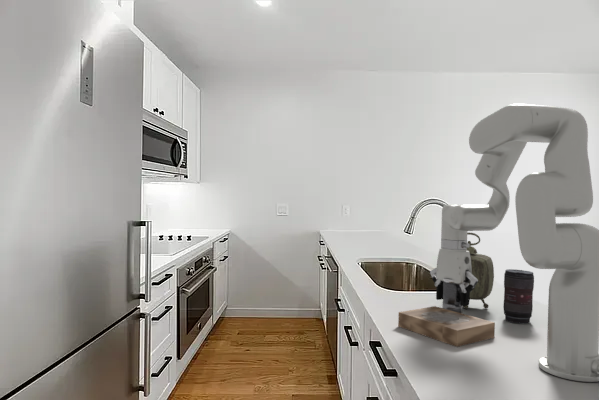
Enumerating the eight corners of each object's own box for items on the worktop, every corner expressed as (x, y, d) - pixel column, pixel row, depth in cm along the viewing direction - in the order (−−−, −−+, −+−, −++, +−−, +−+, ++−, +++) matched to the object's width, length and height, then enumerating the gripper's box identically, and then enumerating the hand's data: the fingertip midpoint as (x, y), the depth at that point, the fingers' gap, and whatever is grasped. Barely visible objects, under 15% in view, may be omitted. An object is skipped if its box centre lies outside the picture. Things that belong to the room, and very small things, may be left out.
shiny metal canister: (466, 318, 142) (467, 279, 142) (453, 321, 139) (454, 280, 139) (450, 314, 147) (451, 276, 147) (437, 316, 144) (438, 277, 144)
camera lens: (536, 325, 136) (537, 274, 136) (506, 323, 138) (507, 272, 138) (528, 318, 144) (529, 269, 144) (500, 316, 146) (501, 268, 146)
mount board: (494, 337, 124) (494, 322, 123) (456, 346, 115) (457, 330, 115) (434, 319, 140) (435, 306, 140) (398, 326, 132) (398, 312, 132)
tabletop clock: (493, 308, 156) (495, 233, 156) (487, 314, 148) (489, 235, 148) (449, 302, 164) (450, 230, 164) (441, 307, 156) (443, 232, 156)
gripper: (486, 248, 137) (484, 307, 138) (439, 242, 152) (438, 295, 152) (470, 249, 133) (468, 310, 134) (423, 242, 148) (421, 297, 148)
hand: (452, 302), depth 143 cm, fingers open, 8 cm apart
